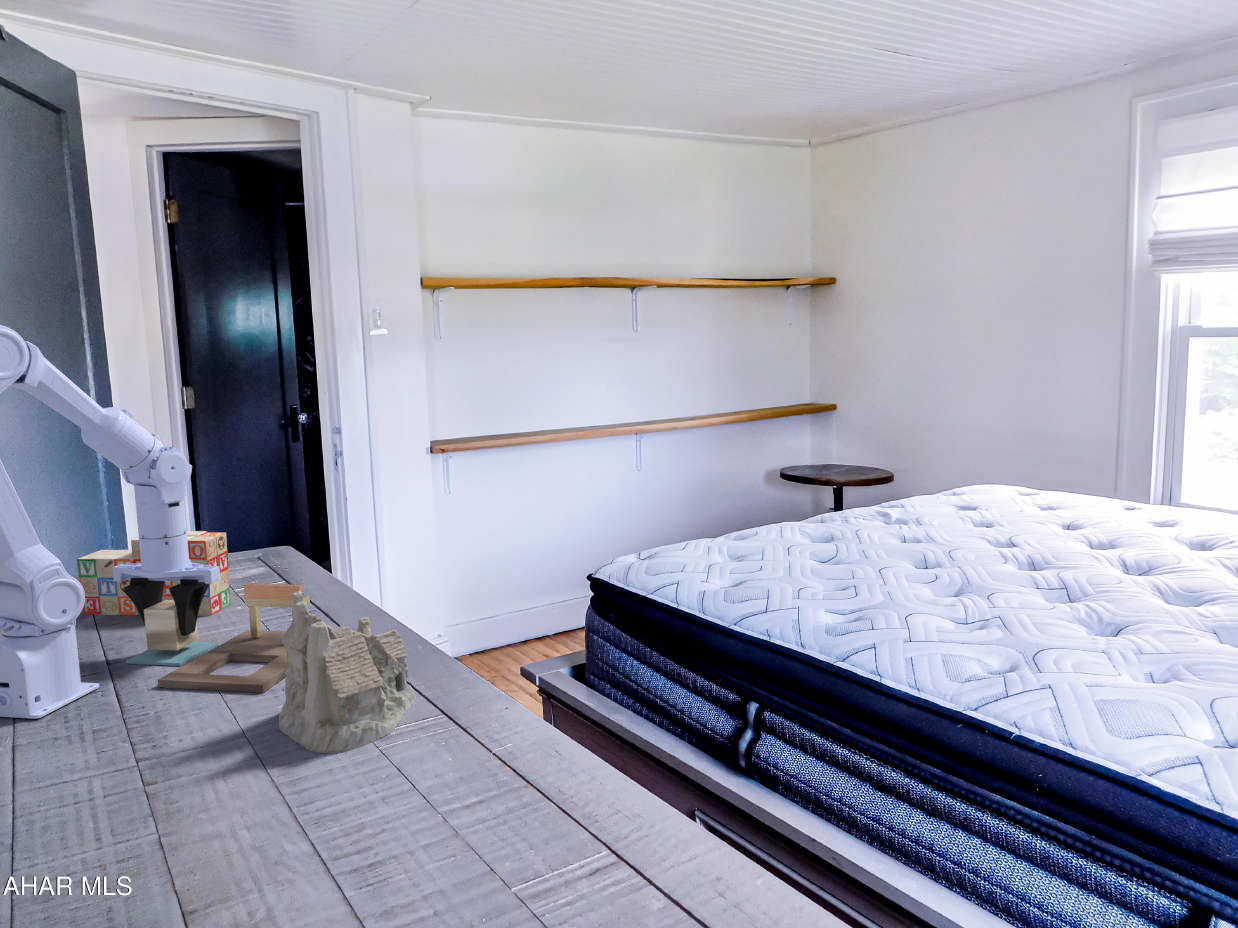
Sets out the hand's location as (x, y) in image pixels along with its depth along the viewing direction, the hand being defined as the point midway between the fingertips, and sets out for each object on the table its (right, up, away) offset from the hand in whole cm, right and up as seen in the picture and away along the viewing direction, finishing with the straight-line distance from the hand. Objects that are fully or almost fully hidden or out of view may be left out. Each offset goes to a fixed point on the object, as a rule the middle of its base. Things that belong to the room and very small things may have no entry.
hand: (171, 632), depth 118 cm
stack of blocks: (-13, -1, +21) cm, 25 cm away
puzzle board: (+13, -3, -3) cm, 13 cm away
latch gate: (+14, -1, +3) cm, 14 cm away
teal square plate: (0, -3, 0) cm, 3 cm away
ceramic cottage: (+31, -6, -20) cm, 38 cm away
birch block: (0, -2, 0) cm, 2 cm away
